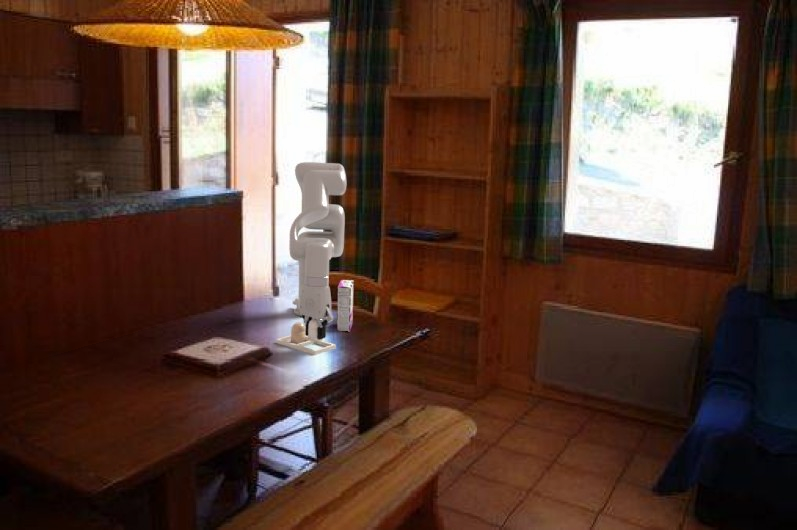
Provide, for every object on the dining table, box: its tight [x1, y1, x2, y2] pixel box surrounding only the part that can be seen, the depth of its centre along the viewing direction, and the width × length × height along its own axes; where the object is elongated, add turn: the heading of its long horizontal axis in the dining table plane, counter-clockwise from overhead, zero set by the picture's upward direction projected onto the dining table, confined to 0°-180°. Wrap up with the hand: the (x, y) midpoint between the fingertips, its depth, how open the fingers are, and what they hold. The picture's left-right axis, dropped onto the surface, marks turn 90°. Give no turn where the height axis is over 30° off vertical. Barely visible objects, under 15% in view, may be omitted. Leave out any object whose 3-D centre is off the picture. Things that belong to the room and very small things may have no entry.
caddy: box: [275, 334, 337, 356], centre depth 234 cm, size 18×10×2 cm, turn 52°
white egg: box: [308, 318, 324, 341], centre depth 230 cm, size 5×5×7 cm
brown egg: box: [289, 322, 306, 344], centre depth 236 cm, size 5×5×7 cm
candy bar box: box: [336, 279, 354, 333], centre depth 257 cm, size 11×5×16 cm, turn 179°
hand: (315, 336), depth 230 cm, fingers closed on white egg, 4 cm apart
